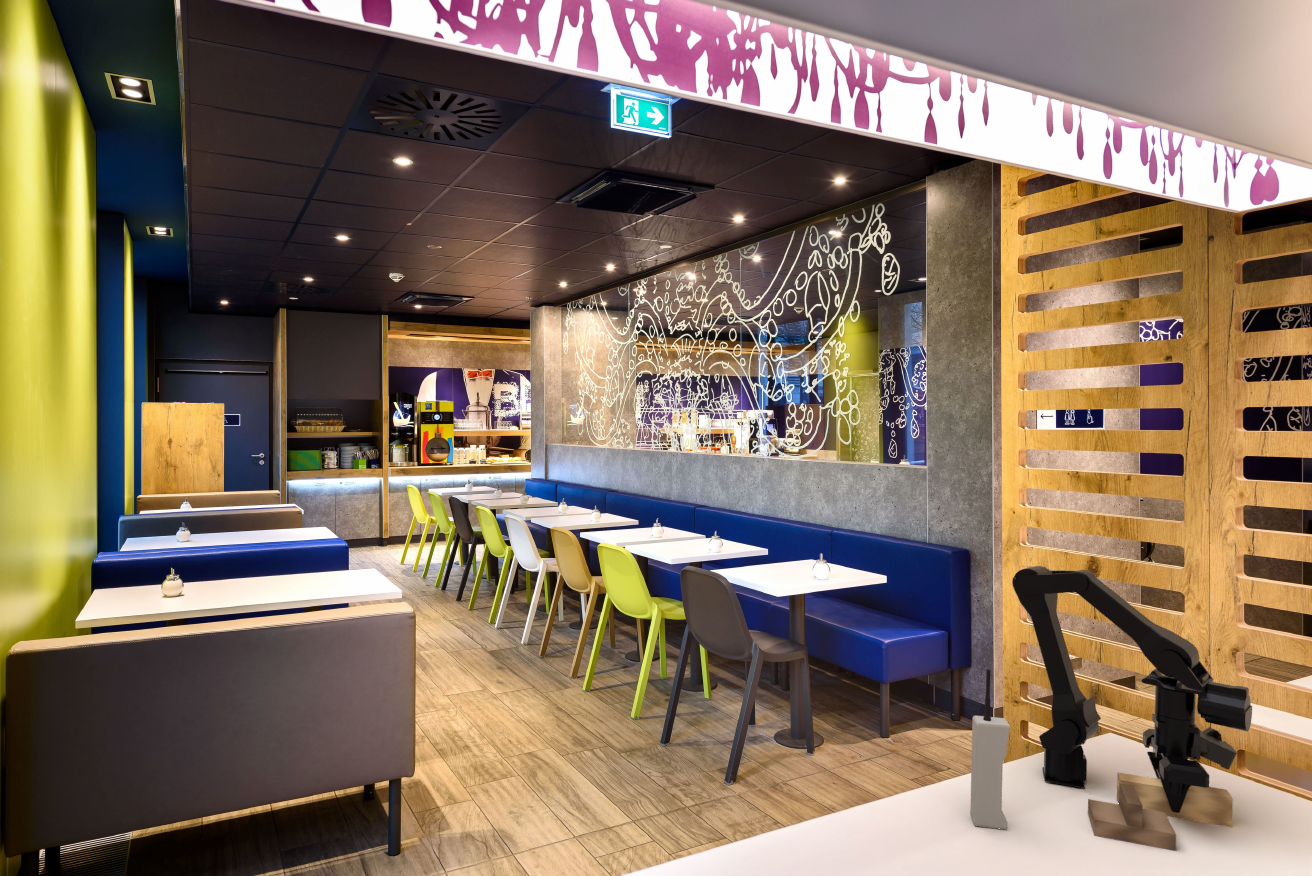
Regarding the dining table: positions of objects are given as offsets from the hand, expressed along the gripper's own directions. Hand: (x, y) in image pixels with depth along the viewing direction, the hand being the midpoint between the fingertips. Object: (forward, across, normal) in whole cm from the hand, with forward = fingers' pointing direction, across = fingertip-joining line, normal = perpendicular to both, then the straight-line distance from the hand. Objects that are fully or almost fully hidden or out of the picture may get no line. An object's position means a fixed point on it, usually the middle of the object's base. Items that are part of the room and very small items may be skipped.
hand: (1172, 806), depth 134 cm
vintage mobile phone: (+1, -18, +29) cm, 34 cm away
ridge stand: (+1, -11, +8) cm, 14 cm away
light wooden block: (+1, 0, 0) cm, 1 cm away
